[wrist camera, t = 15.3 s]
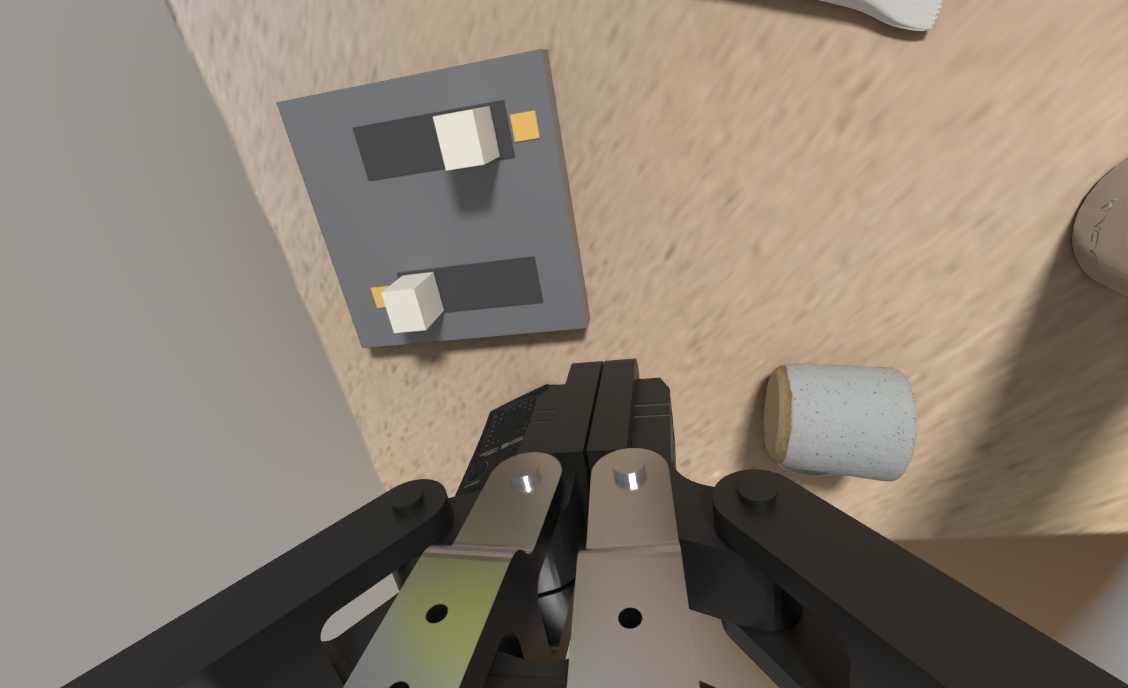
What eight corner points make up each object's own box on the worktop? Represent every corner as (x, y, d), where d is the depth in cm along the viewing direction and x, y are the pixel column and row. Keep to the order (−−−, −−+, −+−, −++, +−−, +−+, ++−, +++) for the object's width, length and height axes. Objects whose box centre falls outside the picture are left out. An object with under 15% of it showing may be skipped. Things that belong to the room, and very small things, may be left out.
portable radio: (564, 371, 44) (464, 672, 22) (602, 428, 46) (547, 759, 24) (486, 409, 47) (329, 710, 25) (526, 461, 49) (412, 786, 27)
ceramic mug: (766, 344, 41) (787, 401, 34) (888, 348, 39) (934, 408, 33) (751, 460, 45) (766, 530, 39) (859, 467, 44) (894, 541, 37)
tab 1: (433, 271, 40) (413, 288, 37) (443, 310, 41) (426, 330, 38) (402, 275, 40) (381, 292, 37) (414, 313, 42) (394, 333, 38)
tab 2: (489, 106, 34) (472, 109, 31) (499, 156, 36) (484, 164, 32) (453, 112, 35) (432, 116, 32) (464, 162, 36) (445, 170, 33)
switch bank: (547, 50, 34) (540, 48, 33) (589, 317, 42) (586, 328, 40) (294, 101, 38) (275, 102, 36) (374, 337, 46) (361, 348, 44)
